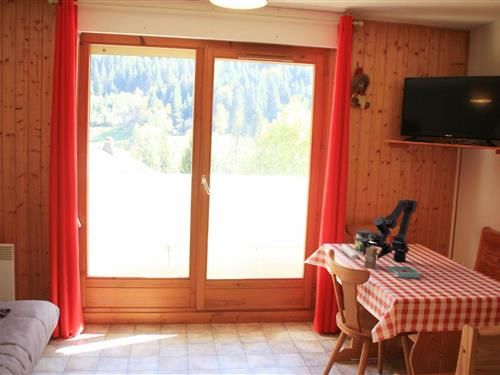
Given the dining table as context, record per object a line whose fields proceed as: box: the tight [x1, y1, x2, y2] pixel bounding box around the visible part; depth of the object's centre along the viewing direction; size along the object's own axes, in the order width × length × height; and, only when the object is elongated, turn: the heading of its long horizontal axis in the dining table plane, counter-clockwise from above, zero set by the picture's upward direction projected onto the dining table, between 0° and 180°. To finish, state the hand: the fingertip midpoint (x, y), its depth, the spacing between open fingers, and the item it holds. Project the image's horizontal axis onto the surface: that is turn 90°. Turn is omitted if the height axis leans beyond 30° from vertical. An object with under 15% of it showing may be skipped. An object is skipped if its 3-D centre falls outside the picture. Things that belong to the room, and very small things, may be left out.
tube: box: [340, 243, 360, 260], centre depth 324 cm, size 5×5×25 cm
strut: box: [364, 246, 378, 268], centre depth 294 cm, size 4×4×11 cm
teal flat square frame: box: [388, 265, 421, 279], centre depth 287 cm, size 13×13×3 cm
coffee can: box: [354, 229, 373, 255], centre depth 337 cm, size 10×10×14 cm
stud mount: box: [362, 264, 379, 270], centre depth 295 cm, size 7×7×4 cm
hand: (370, 256), depth 294 cm, fingers open, 9 cm apart
